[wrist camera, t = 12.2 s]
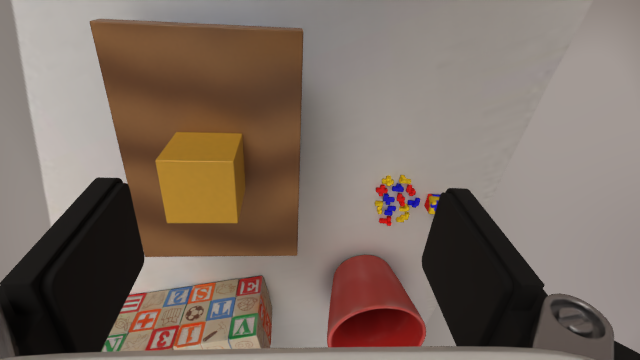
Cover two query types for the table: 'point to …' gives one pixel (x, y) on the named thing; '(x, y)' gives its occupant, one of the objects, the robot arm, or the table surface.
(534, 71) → the table surface
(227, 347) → the stack of blocks
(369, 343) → the flower pot
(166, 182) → the mustard block
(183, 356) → the robot arm
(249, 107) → the wooden board
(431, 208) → the building blocks
